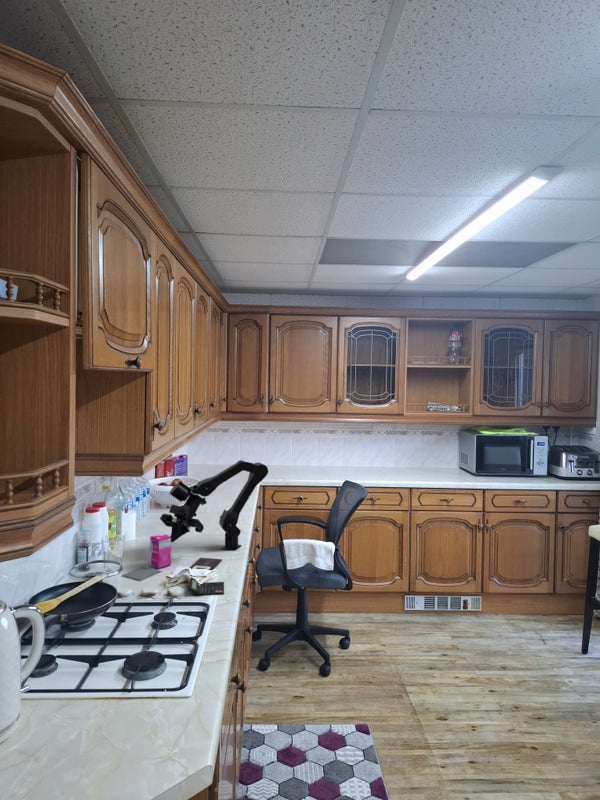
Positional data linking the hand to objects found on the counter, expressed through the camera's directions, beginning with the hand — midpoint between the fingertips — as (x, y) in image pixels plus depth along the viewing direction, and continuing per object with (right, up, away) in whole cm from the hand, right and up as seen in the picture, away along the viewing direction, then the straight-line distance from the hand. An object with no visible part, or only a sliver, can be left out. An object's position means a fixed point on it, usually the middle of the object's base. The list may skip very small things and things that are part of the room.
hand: (171, 541), depth 190 cm
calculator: (+19, -9, -27) cm, 34 cm away
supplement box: (-3, -8, -5) cm, 10 cm away
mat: (-7, -8, -14) cm, 17 cm away
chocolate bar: (+14, -9, -6) cm, 17 cm away
